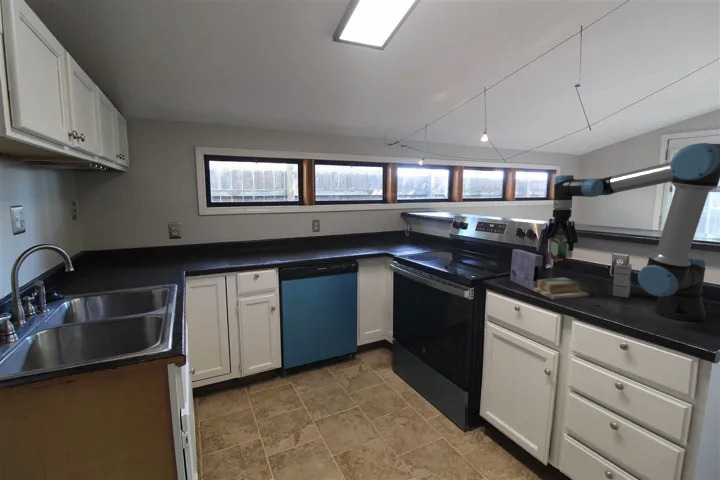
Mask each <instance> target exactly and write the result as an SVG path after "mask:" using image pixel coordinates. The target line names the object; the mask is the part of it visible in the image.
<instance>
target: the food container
mask: <svg viewBox="0 0 720 480" xmlns="http://www.w3.org/2000/svg"><path fill="white" fill-rule="evenodd" d="M550 242H551V252H550V254H549V255H550V256H549V258H550V259H551V260H552V261H554V262H555V263H564V262H567V261H566V260H567V258H566V244H567V243H568V242H567V239H566V238H562V237H554V238H551V239H550Z"/></svg>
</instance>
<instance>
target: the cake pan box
mask: <svg viewBox="0 0 720 480" xmlns="http://www.w3.org/2000/svg"><path fill="white" fill-rule="evenodd" d="M511 254H512V255H511V263H510V264H511V265H510V276H509V277H510V278H509V280H510V282H511V283H514V284H517V285H518V286H521V287H523V288H525V289H529V290H531V291H534V290H533V287H537V280H538V279H543V275H544V269H543V261H544V256H543V255H539V254H536V253H533V252H530V251H526V250H523V249H518V248H517V249H516V248H513V249H512V253H511Z"/></svg>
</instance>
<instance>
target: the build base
mask: <svg viewBox="0 0 720 480" xmlns="http://www.w3.org/2000/svg"><path fill="white" fill-rule="evenodd" d="M580 285H581V284H580V282H579V281H577V280H573V279H570V278H568V277H563V276H562V277H550V278H542V279H538V280H537V287H533V290H532V291H534V292H536V293H538V294H540V295H542V296H544V297H547V298H549V299H551V300H562V299H572V298H575V299H576V298H586V297H589V293H588V291H584V290H581V289H580Z"/></svg>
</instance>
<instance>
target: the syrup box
mask: <svg viewBox="0 0 720 480" xmlns="http://www.w3.org/2000/svg"><path fill="white" fill-rule="evenodd" d="M632 266H633V265H632V264H630V263H624V262H623V263H621V262H620V263H618V262H617V263H616V264H615V265H614V271H613V272H614V275H613V289H612V290H613V291H612V292H613V293H612V296H614V297H622V298H629V297H630V295H631V283H632V282H631V279H632Z"/></svg>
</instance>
